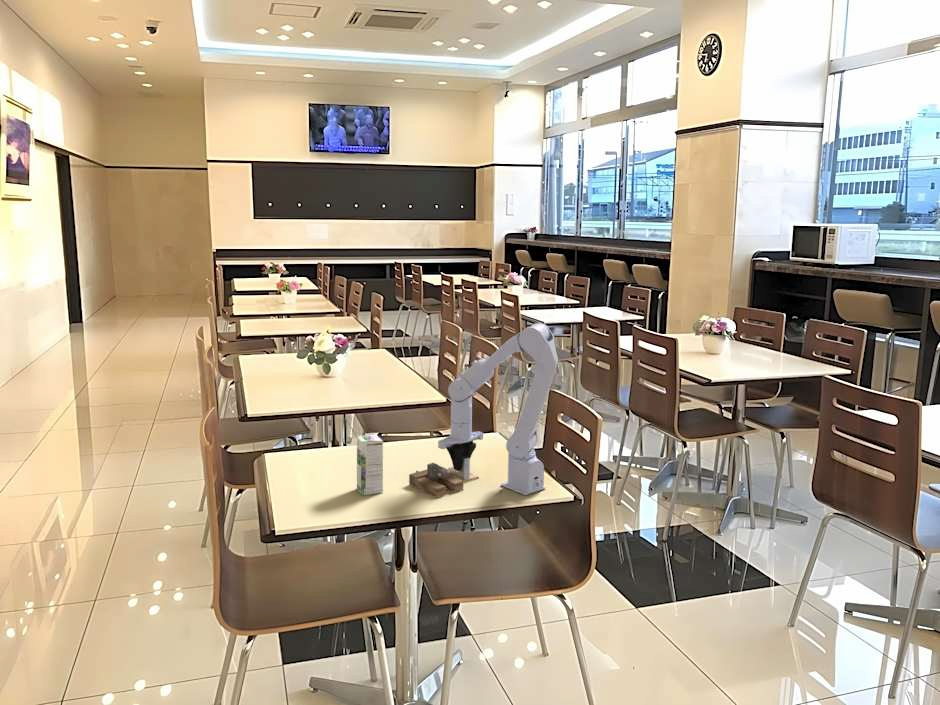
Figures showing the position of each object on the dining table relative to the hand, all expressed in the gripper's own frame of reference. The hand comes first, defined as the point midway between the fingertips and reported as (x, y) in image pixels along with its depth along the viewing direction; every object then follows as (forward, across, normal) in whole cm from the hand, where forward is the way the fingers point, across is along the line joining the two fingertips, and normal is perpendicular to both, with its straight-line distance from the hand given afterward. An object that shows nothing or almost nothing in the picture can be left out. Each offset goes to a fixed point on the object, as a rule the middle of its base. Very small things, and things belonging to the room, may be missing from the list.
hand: (460, 468), depth 212 cm
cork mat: (+3, 0, -2) cm, 3 cm away
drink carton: (+3, +24, -8) cm, 26 cm away
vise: (+3, +10, 0) cm, 10 cm away
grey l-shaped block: (+2, 0, -1) cm, 2 cm away
